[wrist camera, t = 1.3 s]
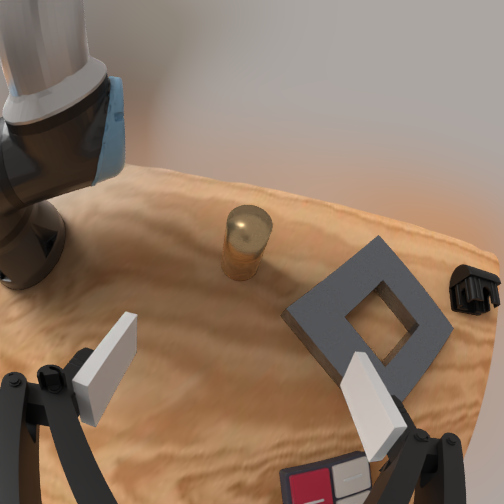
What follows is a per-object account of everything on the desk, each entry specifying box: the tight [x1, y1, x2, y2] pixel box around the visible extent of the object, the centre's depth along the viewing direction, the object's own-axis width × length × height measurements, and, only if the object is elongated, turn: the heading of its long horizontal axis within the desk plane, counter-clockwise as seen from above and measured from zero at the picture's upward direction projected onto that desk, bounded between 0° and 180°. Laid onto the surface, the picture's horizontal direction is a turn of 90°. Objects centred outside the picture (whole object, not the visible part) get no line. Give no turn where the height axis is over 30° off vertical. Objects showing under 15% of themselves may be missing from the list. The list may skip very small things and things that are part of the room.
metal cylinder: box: [221, 205, 273, 281], centre depth 37 cm, size 5×5×10 cm
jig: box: [281, 235, 454, 402], centre depth 38 cm, size 20×20×3 cm
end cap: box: [449, 264, 501, 315], centre depth 42 cm, size 10×7×7 cm
